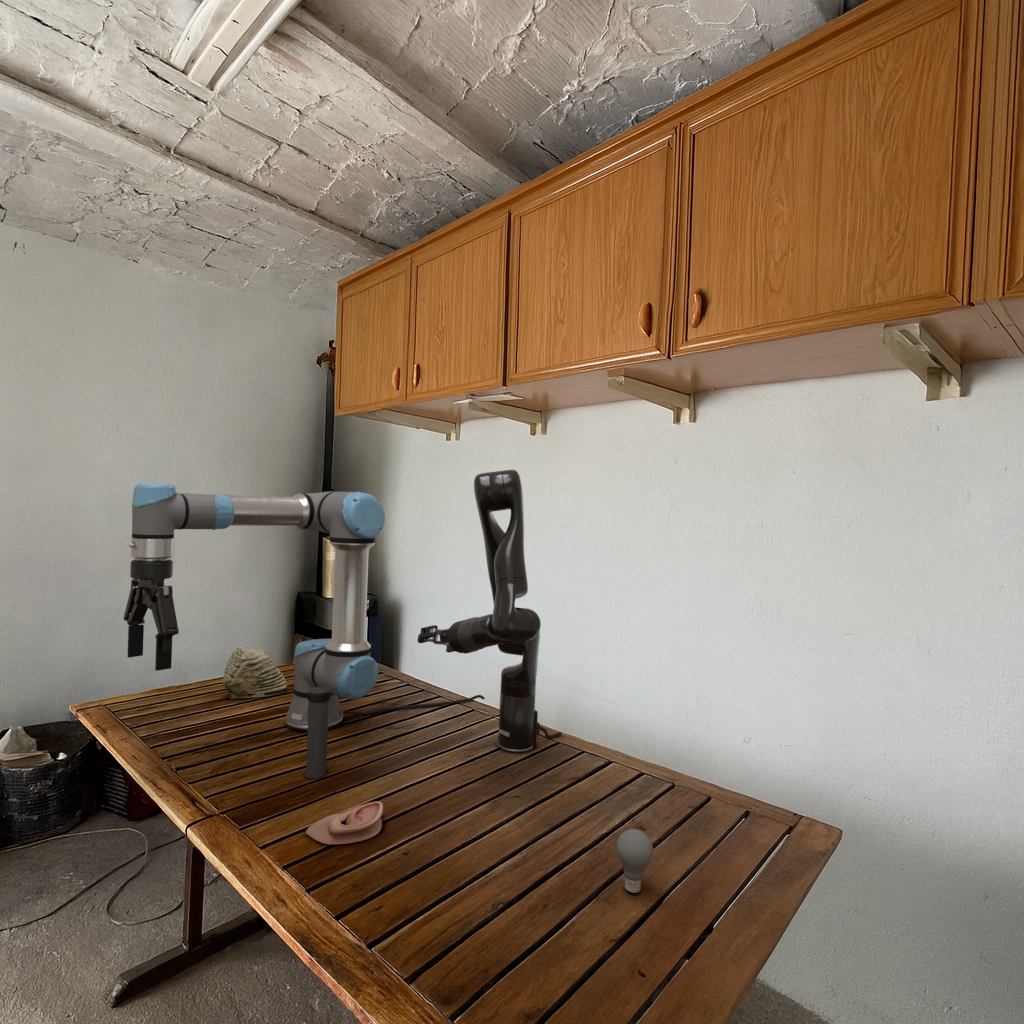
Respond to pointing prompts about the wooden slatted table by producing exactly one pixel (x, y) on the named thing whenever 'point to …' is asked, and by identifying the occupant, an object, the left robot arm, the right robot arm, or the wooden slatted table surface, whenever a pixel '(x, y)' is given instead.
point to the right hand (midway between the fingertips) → (433, 643)
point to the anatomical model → (348, 825)
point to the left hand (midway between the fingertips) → (148, 662)
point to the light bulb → (634, 857)
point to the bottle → (317, 739)
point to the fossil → (252, 674)
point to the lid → (318, 694)
